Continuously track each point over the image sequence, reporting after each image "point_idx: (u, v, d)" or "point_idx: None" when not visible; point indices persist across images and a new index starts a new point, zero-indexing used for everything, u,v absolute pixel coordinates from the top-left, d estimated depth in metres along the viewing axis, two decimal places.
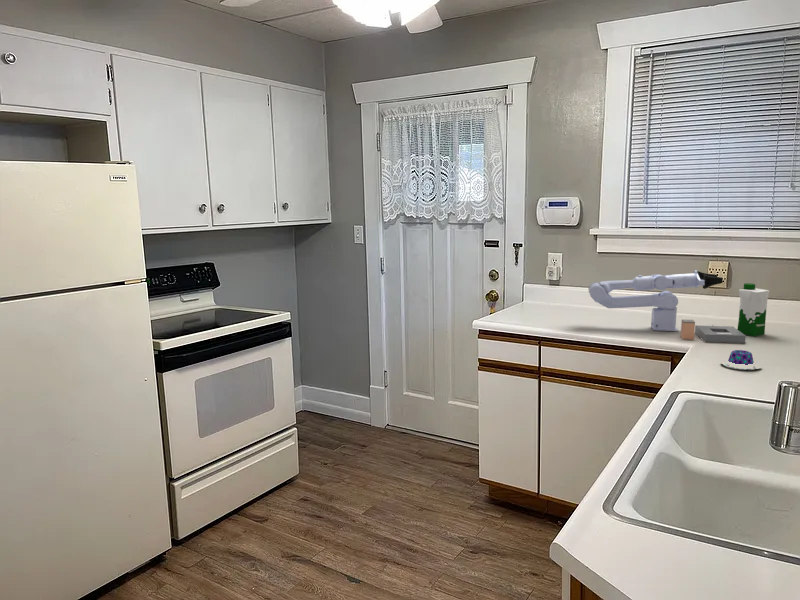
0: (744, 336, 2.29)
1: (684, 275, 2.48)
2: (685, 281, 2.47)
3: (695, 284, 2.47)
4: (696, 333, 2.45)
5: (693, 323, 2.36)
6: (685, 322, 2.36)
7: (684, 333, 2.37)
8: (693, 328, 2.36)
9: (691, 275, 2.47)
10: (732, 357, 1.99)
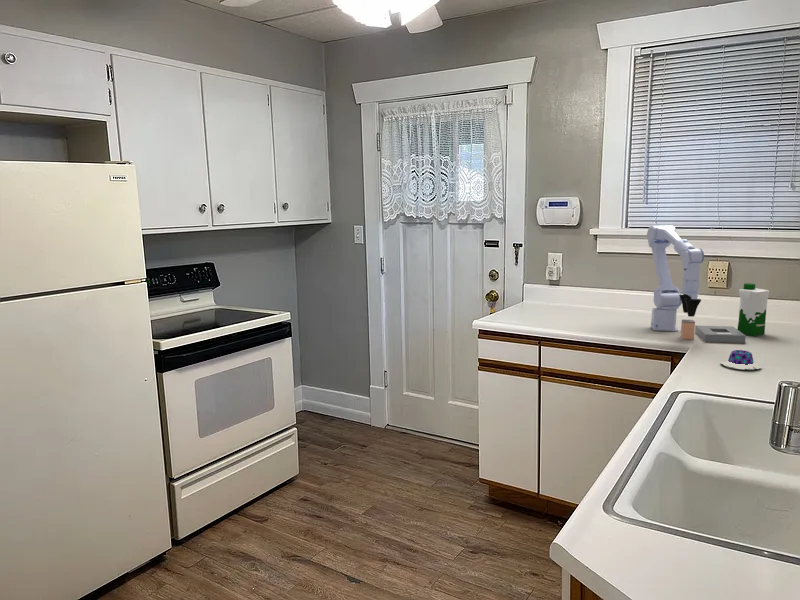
0: (744, 336, 2.29)
1: None
2: None
3: None
4: (696, 333, 2.45)
5: (693, 323, 2.36)
6: (685, 322, 2.36)
7: (684, 333, 2.37)
8: (693, 328, 2.36)
9: None
10: (732, 357, 1.99)
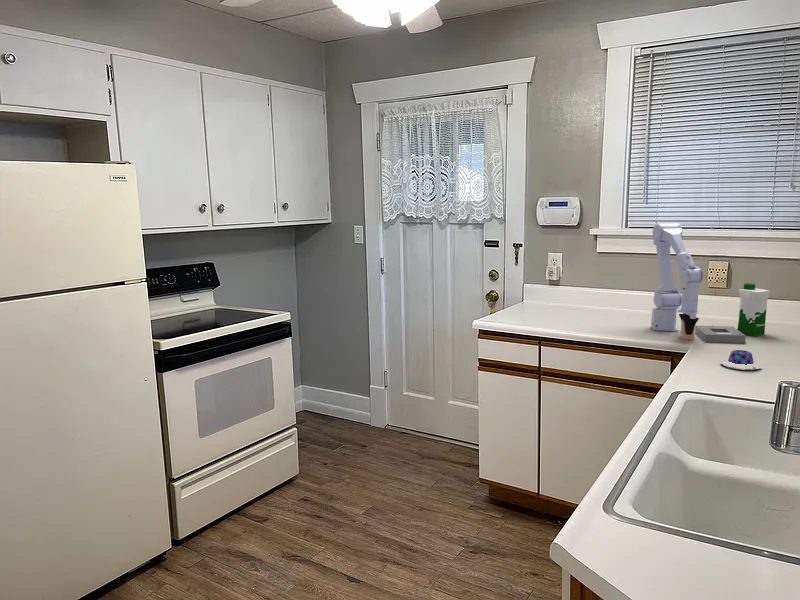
0: (744, 336, 2.29)
1: None
2: None
3: None
4: (696, 333, 2.45)
5: None
6: None
7: (684, 333, 2.37)
8: None
9: None
10: (731, 357, 1.99)
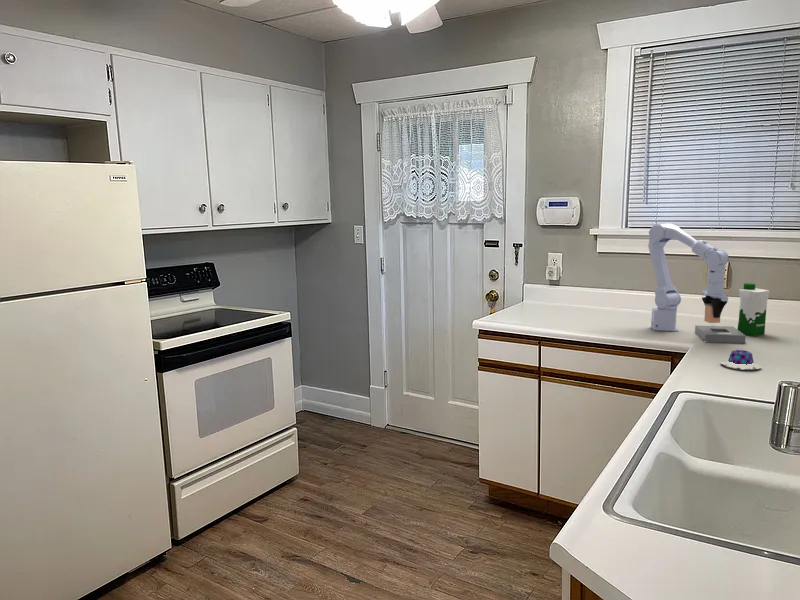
0: (744, 336, 2.29)
1: (707, 282, 2.36)
2: None
3: None
4: (696, 333, 2.45)
5: None
6: (712, 306, 2.34)
7: (711, 317, 2.35)
8: None
9: (707, 288, 2.36)
10: (731, 357, 1.99)
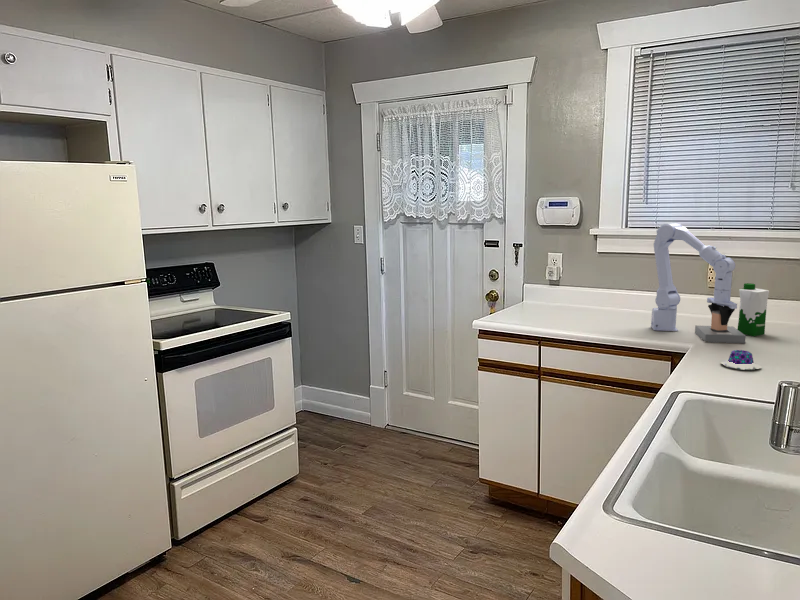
0: (744, 336, 2.29)
1: (714, 289, 2.36)
2: None
3: None
4: (696, 333, 2.45)
5: None
6: None
7: (719, 325, 2.35)
8: None
9: (714, 296, 2.37)
10: (731, 357, 1.99)
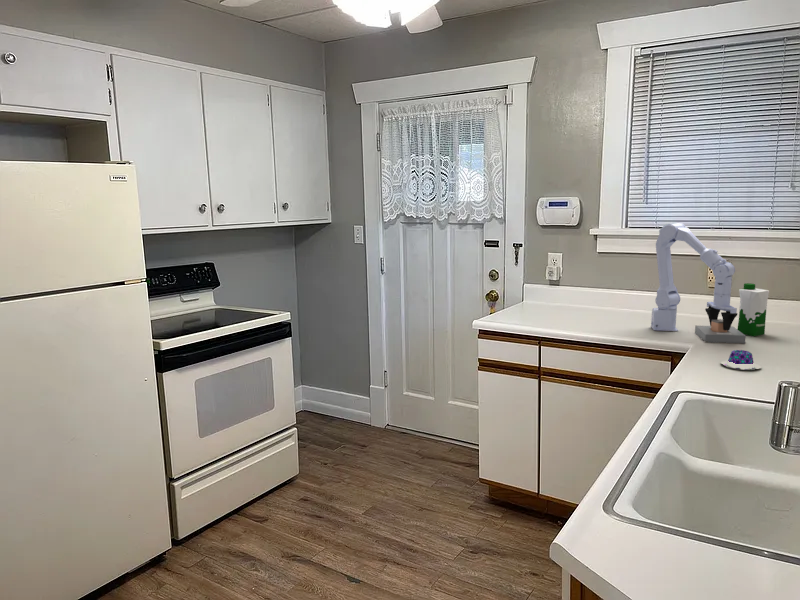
0: (744, 336, 2.29)
1: (714, 293, 2.36)
2: None
3: None
4: (696, 333, 2.45)
5: None
6: (719, 322, 2.35)
7: None
8: None
9: None
10: (731, 356, 1.99)
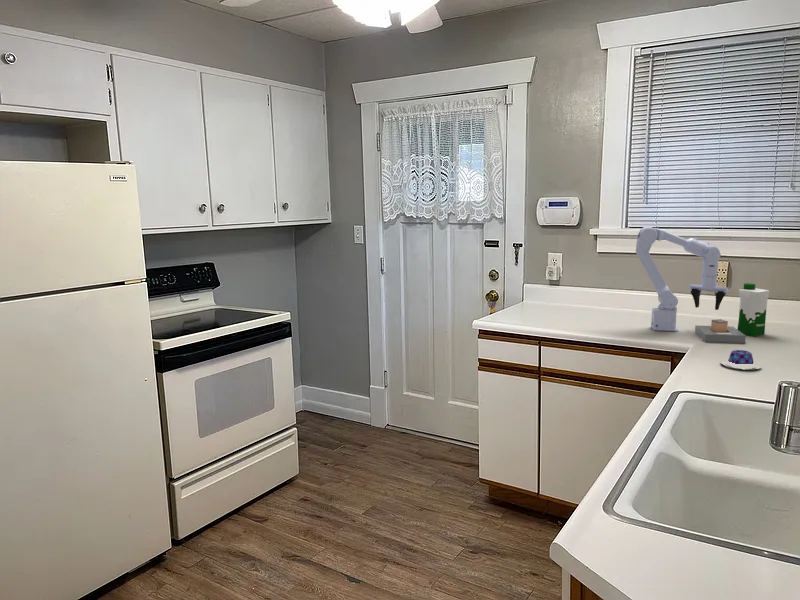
0: (744, 336, 2.29)
1: (703, 276, 2.46)
2: None
3: None
4: (696, 333, 2.45)
5: (726, 323, 2.35)
6: (719, 322, 2.35)
7: None
8: (726, 328, 2.36)
9: (702, 282, 2.47)
10: (730, 356, 2.00)
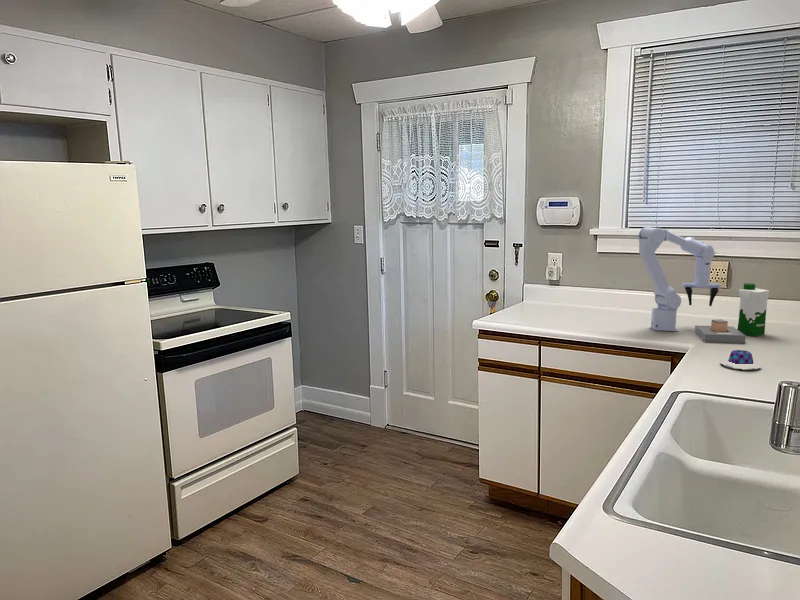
0: (744, 336, 2.29)
1: (699, 274, 2.51)
2: (695, 273, 2.54)
3: None
4: (696, 333, 2.45)
5: (726, 323, 2.35)
6: (719, 322, 2.35)
7: None
8: (726, 328, 2.36)
9: (698, 280, 2.52)
10: (730, 356, 2.00)
